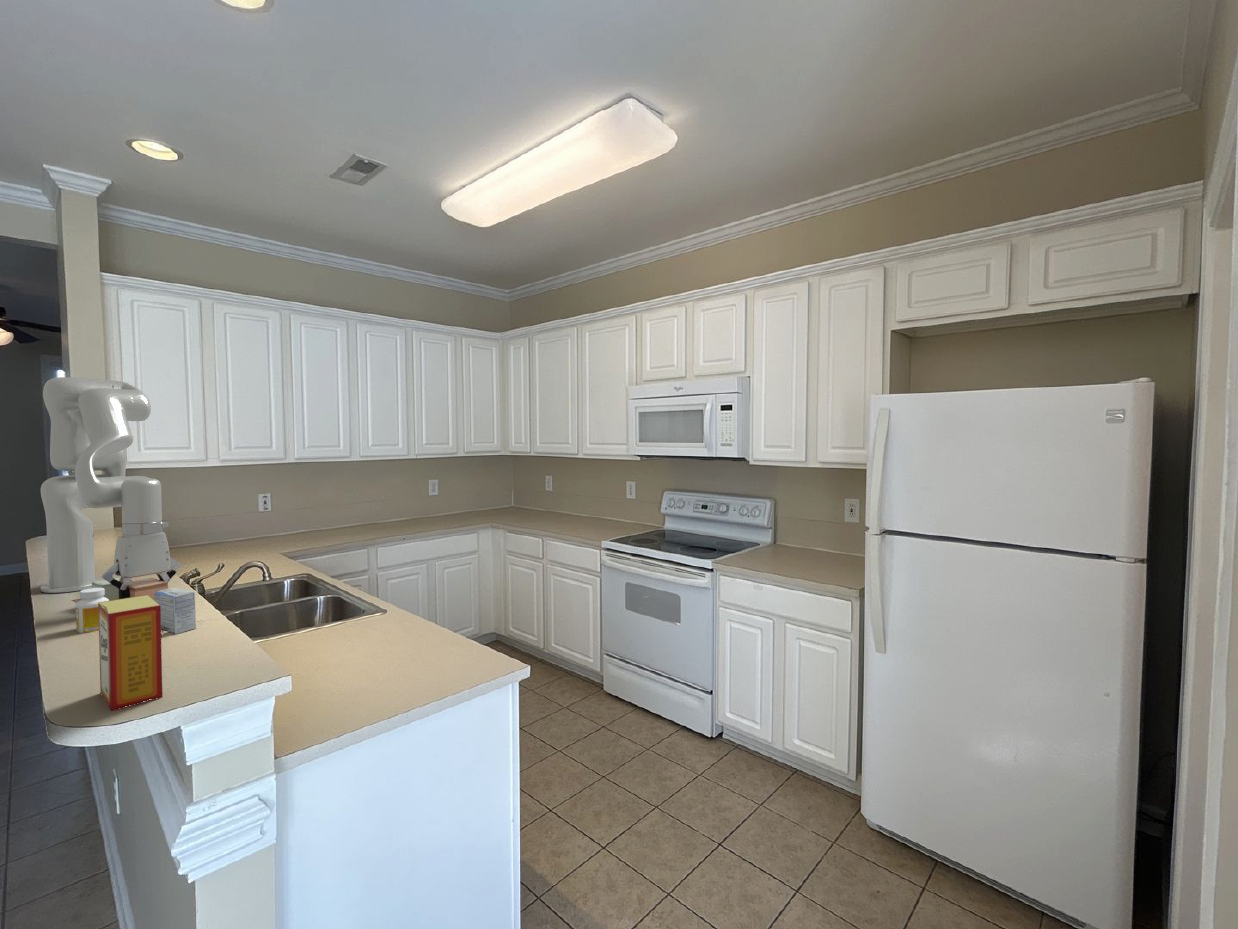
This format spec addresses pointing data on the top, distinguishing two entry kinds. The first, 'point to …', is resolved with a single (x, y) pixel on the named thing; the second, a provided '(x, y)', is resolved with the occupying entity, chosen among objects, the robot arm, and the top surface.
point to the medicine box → (177, 609)
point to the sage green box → (107, 589)
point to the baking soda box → (130, 651)
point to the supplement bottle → (89, 609)
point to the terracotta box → (146, 587)
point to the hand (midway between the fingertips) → (144, 600)
